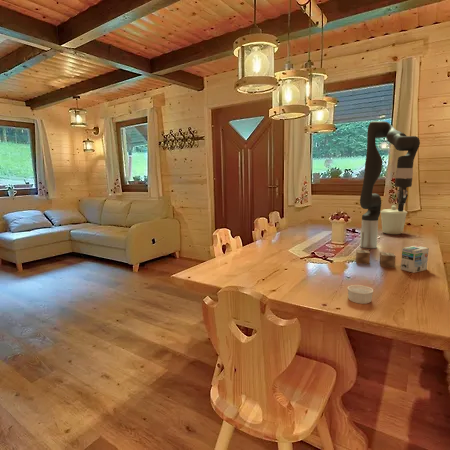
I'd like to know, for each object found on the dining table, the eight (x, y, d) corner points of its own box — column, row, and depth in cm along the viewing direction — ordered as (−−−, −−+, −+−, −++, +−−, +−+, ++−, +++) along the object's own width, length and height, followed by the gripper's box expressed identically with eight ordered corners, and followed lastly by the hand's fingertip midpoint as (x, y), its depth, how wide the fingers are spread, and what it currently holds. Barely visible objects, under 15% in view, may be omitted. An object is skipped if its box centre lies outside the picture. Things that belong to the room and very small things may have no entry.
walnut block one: (381, 266, 155) (382, 254, 154) (379, 263, 161) (380, 251, 160) (394, 267, 154) (395, 255, 153) (392, 264, 159) (393, 252, 158)
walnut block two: (356, 263, 162) (357, 252, 161) (355, 260, 167) (356, 249, 166) (369, 264, 160) (370, 252, 159) (368, 261, 165) (368, 249, 164)
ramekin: (346, 302, 114) (347, 291, 113) (346, 294, 122) (347, 283, 122) (373, 306, 111) (374, 294, 110) (371, 296, 119) (372, 286, 118)
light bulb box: (413, 273, 145) (415, 250, 143) (400, 269, 151) (401, 247, 149) (427, 269, 150) (429, 247, 148) (413, 266, 156) (415, 245, 154)
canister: (373, 231, 244) (375, 204, 240) (395, 230, 246) (397, 204, 242) (388, 236, 226) (390, 207, 223) (411, 235, 228) (413, 206, 225)
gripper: (393, 176, 164) (390, 209, 168) (398, 177, 152) (394, 212, 155) (409, 176, 162) (405, 209, 165) (415, 177, 150) (411, 213, 153)
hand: (400, 211), depth 160 cm, fingers closed
